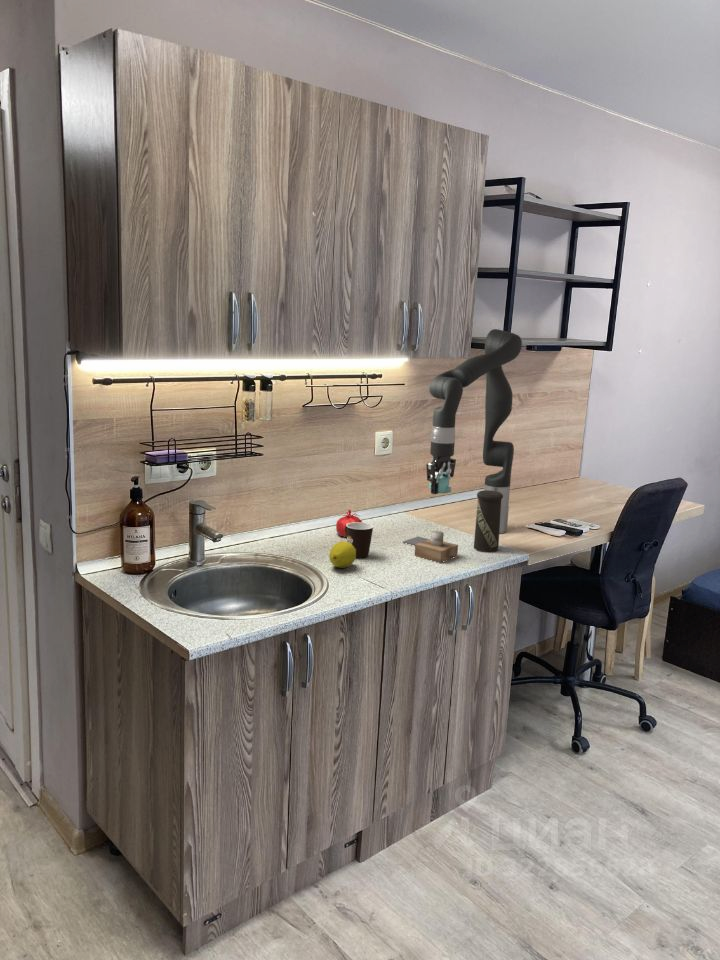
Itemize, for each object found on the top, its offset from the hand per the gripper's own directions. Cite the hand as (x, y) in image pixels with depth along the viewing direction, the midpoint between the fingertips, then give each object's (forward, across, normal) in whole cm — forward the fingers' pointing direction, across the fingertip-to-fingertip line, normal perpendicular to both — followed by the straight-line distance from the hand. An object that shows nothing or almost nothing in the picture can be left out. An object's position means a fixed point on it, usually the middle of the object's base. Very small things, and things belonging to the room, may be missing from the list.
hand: (439, 492), depth 252 cm
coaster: (+21, +8, +11) cm, 25 cm away
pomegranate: (+21, -3, +34) cm, 41 cm away
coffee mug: (+21, -18, +18) cm, 33 cm away
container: (+21, +19, -8) cm, 30 cm away
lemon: (+21, -32, +13) cm, 41 cm away
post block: (+21, -1, -1) cm, 21 cm away
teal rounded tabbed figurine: (0, 0, 0) cm, 0 cm away
